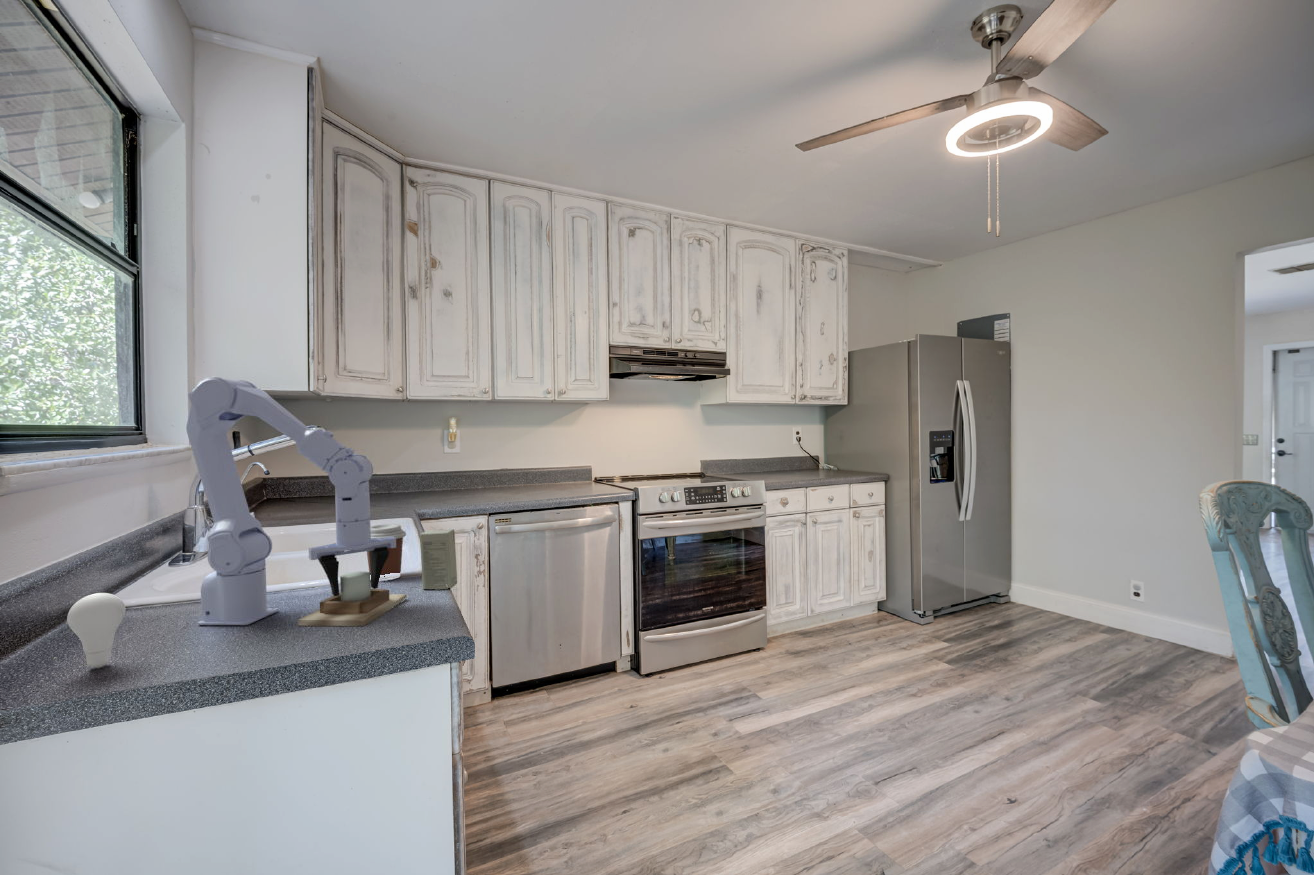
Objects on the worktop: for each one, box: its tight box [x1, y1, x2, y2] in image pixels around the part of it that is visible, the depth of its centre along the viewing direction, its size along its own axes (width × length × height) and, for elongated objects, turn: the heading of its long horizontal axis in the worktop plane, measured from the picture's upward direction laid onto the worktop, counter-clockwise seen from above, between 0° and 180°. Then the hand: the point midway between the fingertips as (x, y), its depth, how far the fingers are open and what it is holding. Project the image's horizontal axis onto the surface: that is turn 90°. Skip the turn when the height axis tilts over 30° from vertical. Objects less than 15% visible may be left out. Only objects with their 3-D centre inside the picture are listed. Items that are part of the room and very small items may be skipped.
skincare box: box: [419, 528, 458, 590], centre depth 122 cm, size 6×4×12 cm
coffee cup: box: [366, 523, 407, 577], centre depth 130 cm, size 9×9×12 cm
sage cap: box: [339, 571, 372, 601], centre depth 107 cm, size 5×5×6 cm
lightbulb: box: [66, 592, 126, 669], centre depth 83 cm, size 6×6×11 cm
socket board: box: [297, 588, 407, 627], centre depth 107 cm, size 12×15×3 cm
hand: (355, 591), depth 107 cm, fingers open, 6 cm apart
